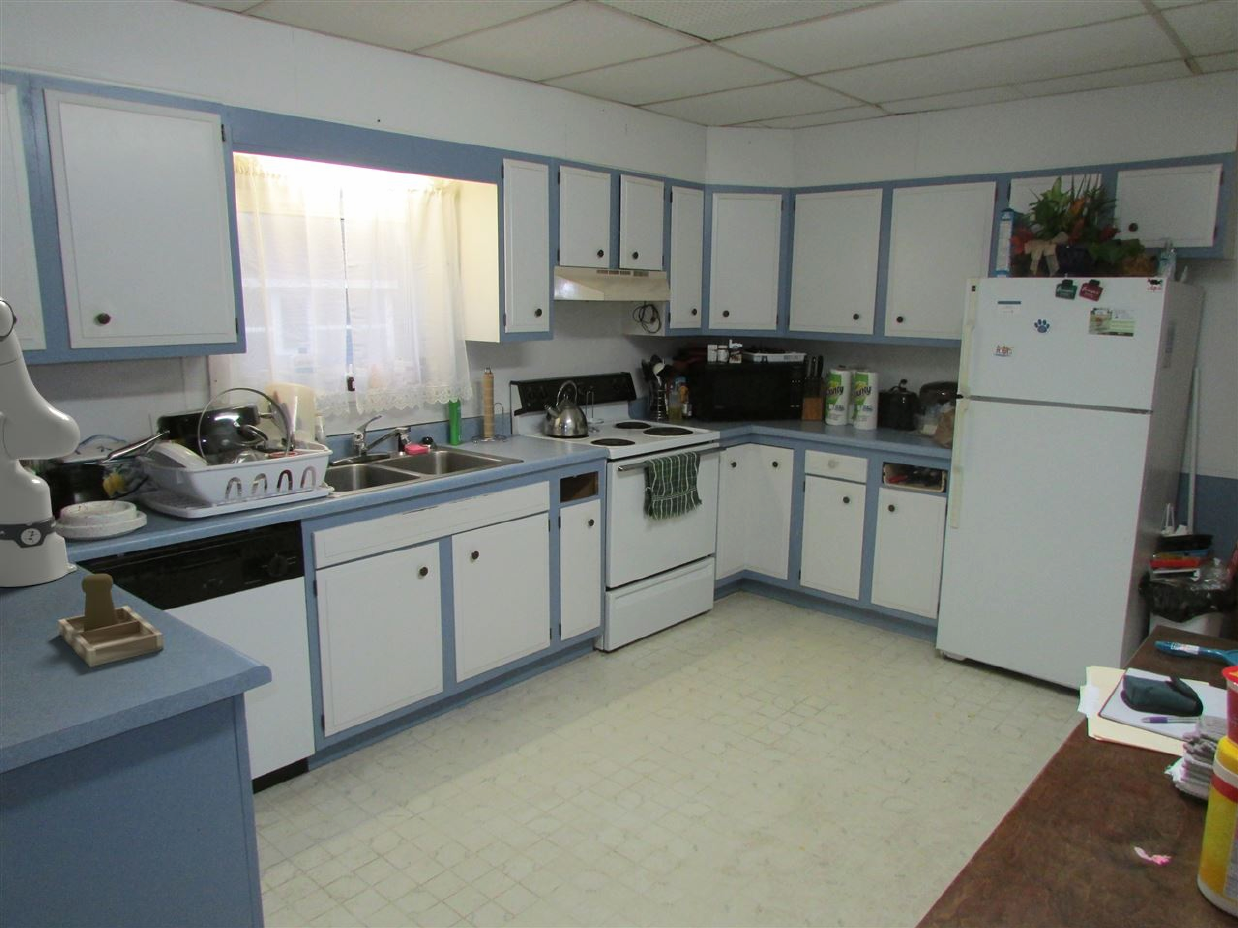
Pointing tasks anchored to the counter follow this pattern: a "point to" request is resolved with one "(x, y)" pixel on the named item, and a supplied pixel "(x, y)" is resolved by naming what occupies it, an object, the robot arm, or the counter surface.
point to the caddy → (111, 638)
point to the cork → (98, 602)
